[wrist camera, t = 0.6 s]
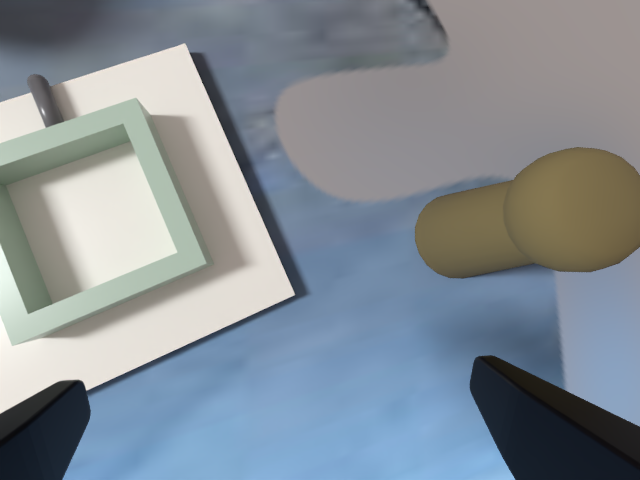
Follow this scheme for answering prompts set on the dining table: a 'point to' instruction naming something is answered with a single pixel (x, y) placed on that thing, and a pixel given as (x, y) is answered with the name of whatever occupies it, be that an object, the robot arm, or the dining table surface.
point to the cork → (537, 218)
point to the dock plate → (121, 225)
